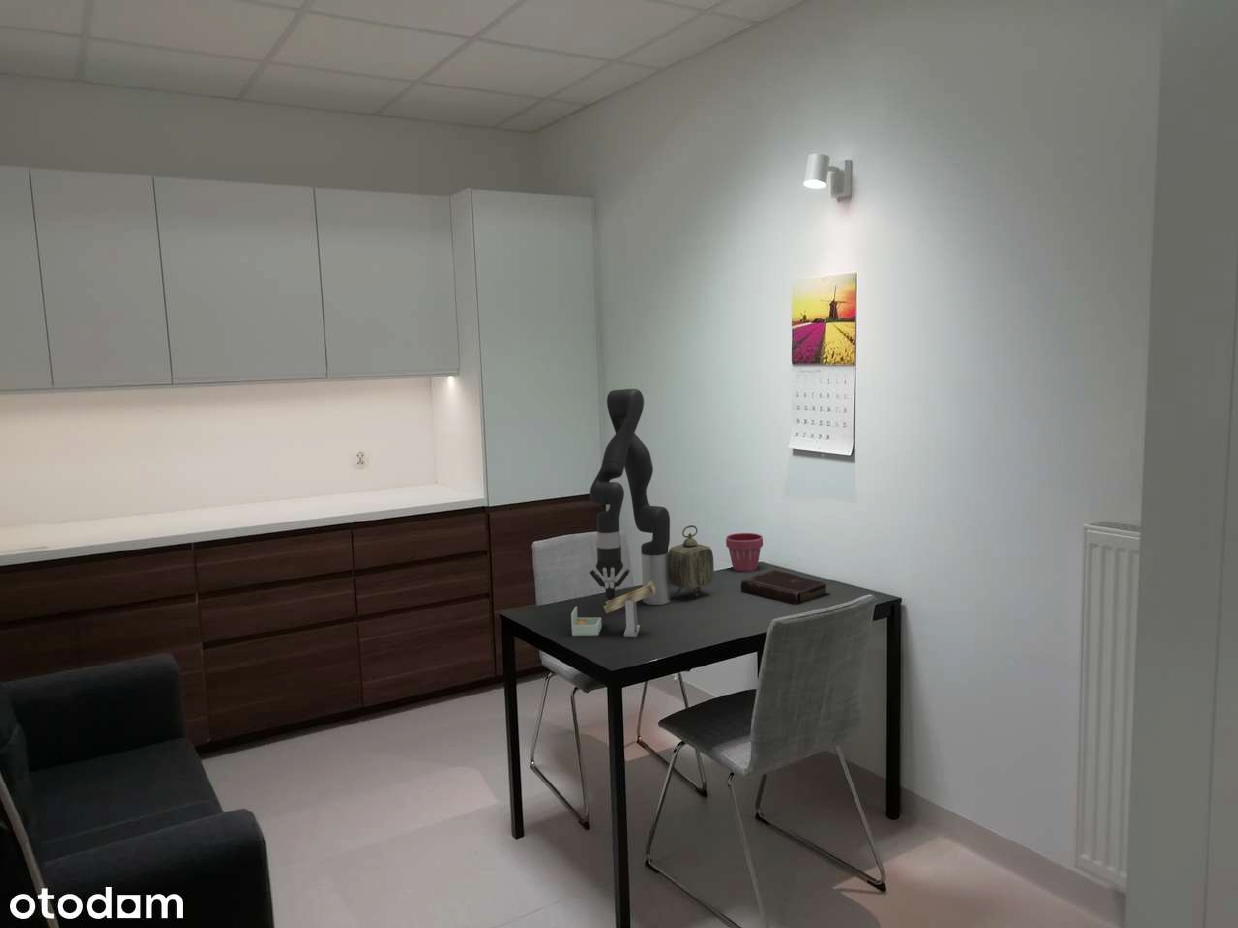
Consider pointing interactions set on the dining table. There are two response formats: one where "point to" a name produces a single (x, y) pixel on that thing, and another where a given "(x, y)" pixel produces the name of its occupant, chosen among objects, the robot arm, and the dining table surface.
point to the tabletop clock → (690, 564)
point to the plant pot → (744, 550)
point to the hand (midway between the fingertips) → (610, 599)
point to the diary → (784, 587)
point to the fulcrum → (631, 619)
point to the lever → (630, 597)
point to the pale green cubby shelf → (589, 629)
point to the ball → (580, 623)
